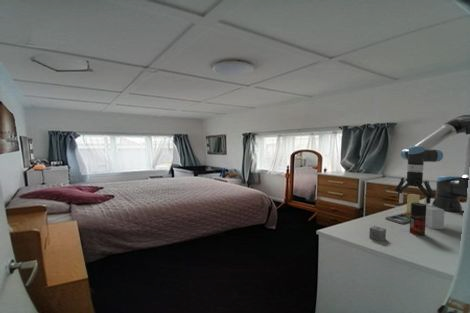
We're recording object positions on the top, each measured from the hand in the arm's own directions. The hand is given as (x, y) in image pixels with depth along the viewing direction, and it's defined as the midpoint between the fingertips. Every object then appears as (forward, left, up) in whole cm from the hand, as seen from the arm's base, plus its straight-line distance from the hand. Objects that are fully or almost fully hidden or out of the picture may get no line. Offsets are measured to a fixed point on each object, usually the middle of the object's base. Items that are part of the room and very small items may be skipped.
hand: (413, 205), depth 136 cm
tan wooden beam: (0, 0, -7) cm, 7 cm away
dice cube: (+51, +10, -7) cm, 53 cm away
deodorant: (+26, +15, -7) cm, 31 cm away
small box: (+7, +13, -7) cm, 17 cm away
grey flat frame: (+7, 0, -7) cm, 10 cm away
